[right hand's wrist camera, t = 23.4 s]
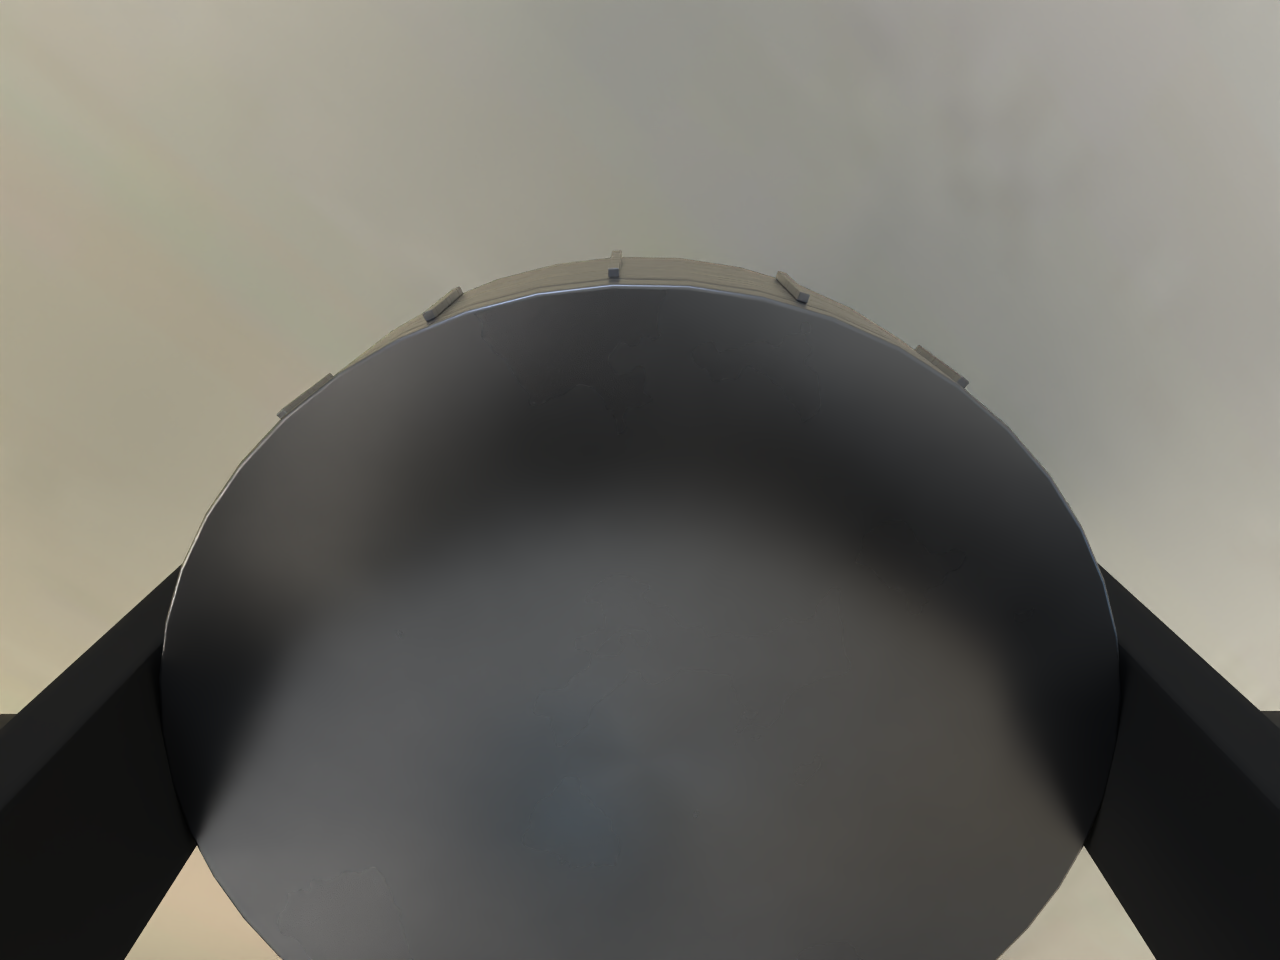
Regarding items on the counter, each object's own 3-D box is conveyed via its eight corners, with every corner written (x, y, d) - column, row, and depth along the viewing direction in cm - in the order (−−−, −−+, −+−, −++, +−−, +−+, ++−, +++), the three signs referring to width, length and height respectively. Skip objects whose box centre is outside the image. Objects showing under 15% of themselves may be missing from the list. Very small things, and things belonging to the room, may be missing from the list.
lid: (786, 1046, 15) (808, 1188, 13) (132, 799, 13) (41, 919, 11) (1218, 506, 11) (1340, 583, 9) (417, 73, 10) (359, 56, 8)
